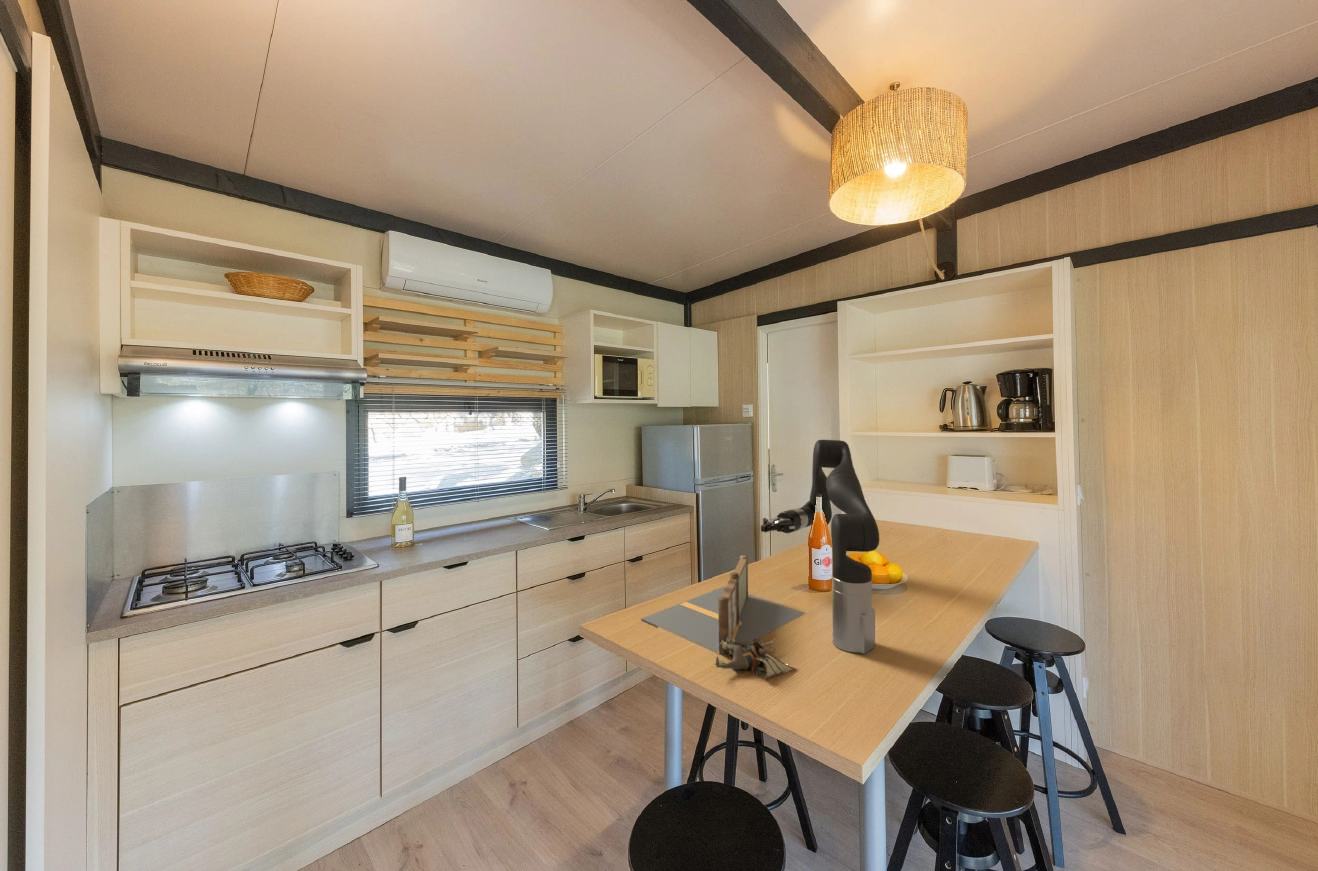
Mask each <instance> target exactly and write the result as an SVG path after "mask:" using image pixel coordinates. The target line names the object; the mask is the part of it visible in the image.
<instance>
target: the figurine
mask: <svg viewBox="0 0 1318 871" xmlns="http://www.w3.org/2000/svg"><path fill="white" fill-rule="evenodd" d="M726 638H727V637H726ZM776 639H777V638H776V637H774V638H773V640H770V641H768V642H764V643H762V641H761V639H760V638H758V639H756V638H755V639H754V640H753V642H751V643H750V642H748V641H743V642H742V641H737V640H735V639H731V638H730V637H729V636H728V638H727V639H726V640H727V641H726V642H729V643H731V644H732V645H731V644H728V643H726V642H724V640H723V641H722V642H721V643H720V644H719V645H720V646H721V647H722V648H723V649H725V650H728V651H729V653H730V654H729V655H731V656H732V660H730V661H728V662H724V661H723V660H719V656H718V655H717V656H716V658H715V663H714V665H715V666H716V667H719V668H724V669H725V668H727V669H728V668H729V669H732V670H734V671H740V670H741V671H742V674H744V673H747V674H748V675H747V676H751V675H752V674H754V675H762V677H764V678H763V680H764V681H766V680H767V679H768V678H769V679H770V678H772V677H774V676H780V675H781V674H783V673H787V672H788V673H789V672H795V671H797V670H798V669H797V668H795V667H793V666H791V665H789V663H785V662H784V661H782V660H780V659H779V658H777V657H776V656H775V655H772V654H770V653H768V652H772V651H775V648H766V647H765V646H768V645H770V647H773V643H774V642H775V641H776ZM733 644H738V645H741V646H742V647H740V646H738V645H733ZM764 669H765V671H764ZM750 670H751V672H749V671H750Z"/></svg>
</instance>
